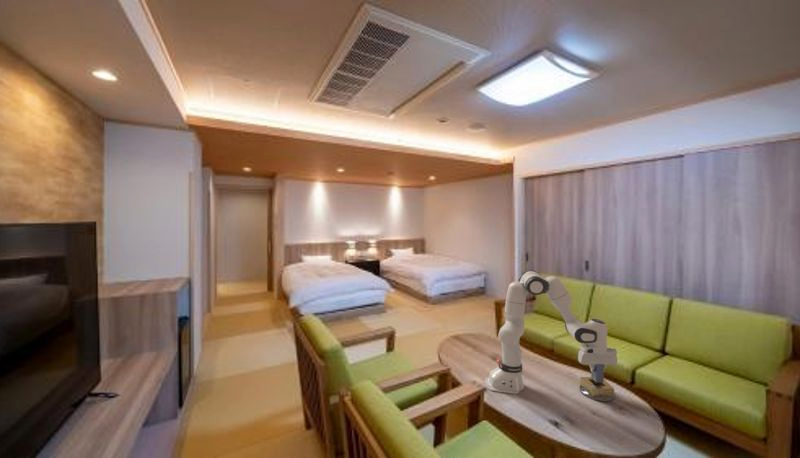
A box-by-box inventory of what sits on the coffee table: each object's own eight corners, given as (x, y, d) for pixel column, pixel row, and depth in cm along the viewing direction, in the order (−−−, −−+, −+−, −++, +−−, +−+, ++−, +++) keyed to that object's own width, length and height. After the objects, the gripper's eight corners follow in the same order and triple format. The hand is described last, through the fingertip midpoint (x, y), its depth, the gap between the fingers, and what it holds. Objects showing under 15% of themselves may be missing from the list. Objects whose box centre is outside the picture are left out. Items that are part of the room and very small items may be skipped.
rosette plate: (589, 401, 171) (589, 391, 171) (573, 384, 188) (574, 374, 188) (621, 402, 170) (621, 391, 170) (602, 384, 187) (603, 374, 187)
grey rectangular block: (596, 382, 176) (596, 365, 176) (591, 377, 181) (591, 360, 181) (603, 382, 176) (603, 365, 175) (598, 377, 181) (598, 360, 180)
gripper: (613, 345, 180) (612, 368, 181) (576, 345, 181) (576, 368, 182) (620, 350, 174) (619, 374, 175) (582, 350, 175) (582, 374, 176)
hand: (597, 371), depth 178 cm, fingers closed on grey rectangular block, 4 cm apart
